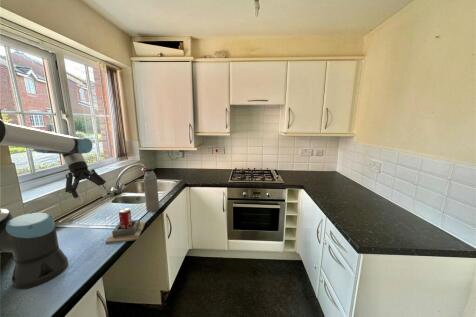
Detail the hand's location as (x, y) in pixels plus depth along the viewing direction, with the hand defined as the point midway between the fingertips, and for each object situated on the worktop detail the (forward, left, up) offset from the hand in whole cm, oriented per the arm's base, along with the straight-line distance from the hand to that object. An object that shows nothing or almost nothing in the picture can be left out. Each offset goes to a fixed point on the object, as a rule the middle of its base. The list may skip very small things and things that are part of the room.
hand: (93, 199), depth 99 cm
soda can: (-6, -16, -17) cm, 24 cm away
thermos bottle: (+21, -23, -18) cm, 36 cm away
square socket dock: (-6, -16, -18) cm, 25 cm away
